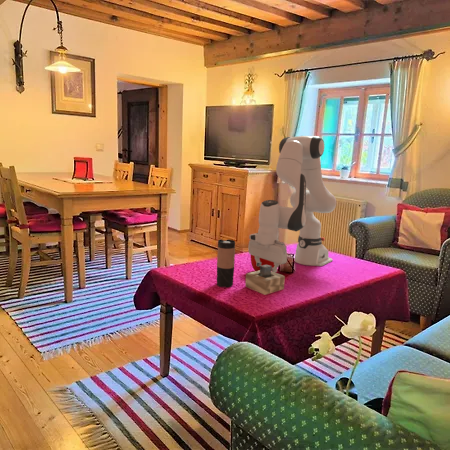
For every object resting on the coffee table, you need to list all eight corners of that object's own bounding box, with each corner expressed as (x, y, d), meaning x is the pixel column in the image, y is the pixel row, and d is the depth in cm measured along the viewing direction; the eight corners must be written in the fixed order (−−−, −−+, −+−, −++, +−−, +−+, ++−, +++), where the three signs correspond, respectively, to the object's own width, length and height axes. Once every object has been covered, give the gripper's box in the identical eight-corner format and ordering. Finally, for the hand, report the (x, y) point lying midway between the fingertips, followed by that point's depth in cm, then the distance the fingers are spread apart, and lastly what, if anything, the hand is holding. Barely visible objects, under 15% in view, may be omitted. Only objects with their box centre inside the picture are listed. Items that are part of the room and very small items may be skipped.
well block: (264, 281, 186) (265, 269, 184) (283, 289, 177) (284, 276, 175) (245, 286, 178) (246, 273, 177) (264, 294, 169) (265, 281, 168)
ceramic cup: (241, 275, 192) (242, 255, 190) (255, 267, 207) (256, 248, 205) (266, 280, 186) (268, 260, 184) (279, 271, 201) (280, 252, 199)
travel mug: (227, 288, 174) (229, 244, 170) (212, 285, 178) (214, 241, 174) (236, 284, 180) (238, 240, 176) (222, 280, 184) (223, 238, 180)
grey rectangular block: (265, 285, 180) (266, 264, 178) (270, 287, 177) (271, 266, 175) (258, 287, 177) (260, 266, 175) (263, 289, 175) (265, 267, 173)
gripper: (291, 242, 167) (289, 273, 170) (256, 232, 182) (255, 261, 185) (281, 244, 163) (279, 276, 166) (246, 234, 178) (245, 264, 181)
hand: (266, 268), depth 176 cm, fingers open, 8 cm apart
